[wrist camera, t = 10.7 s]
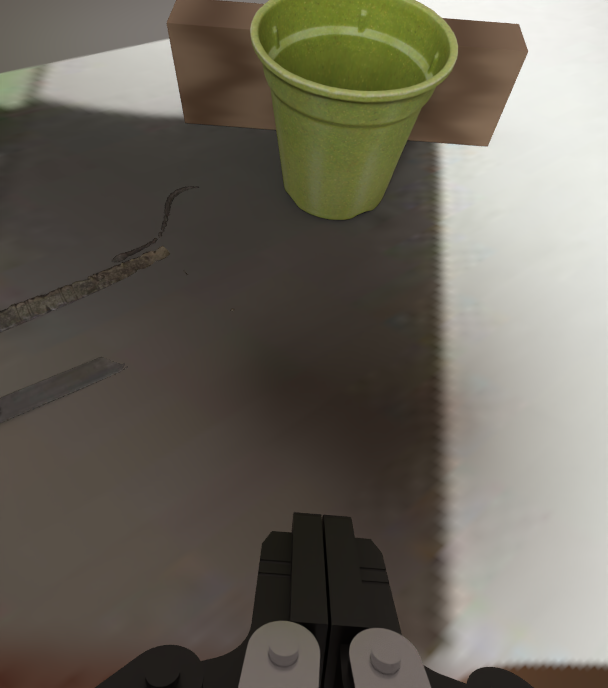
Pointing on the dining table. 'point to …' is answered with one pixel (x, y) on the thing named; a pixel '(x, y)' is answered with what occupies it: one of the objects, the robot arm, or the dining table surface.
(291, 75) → the plant pot
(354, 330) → the dining table surface
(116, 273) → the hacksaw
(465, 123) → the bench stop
